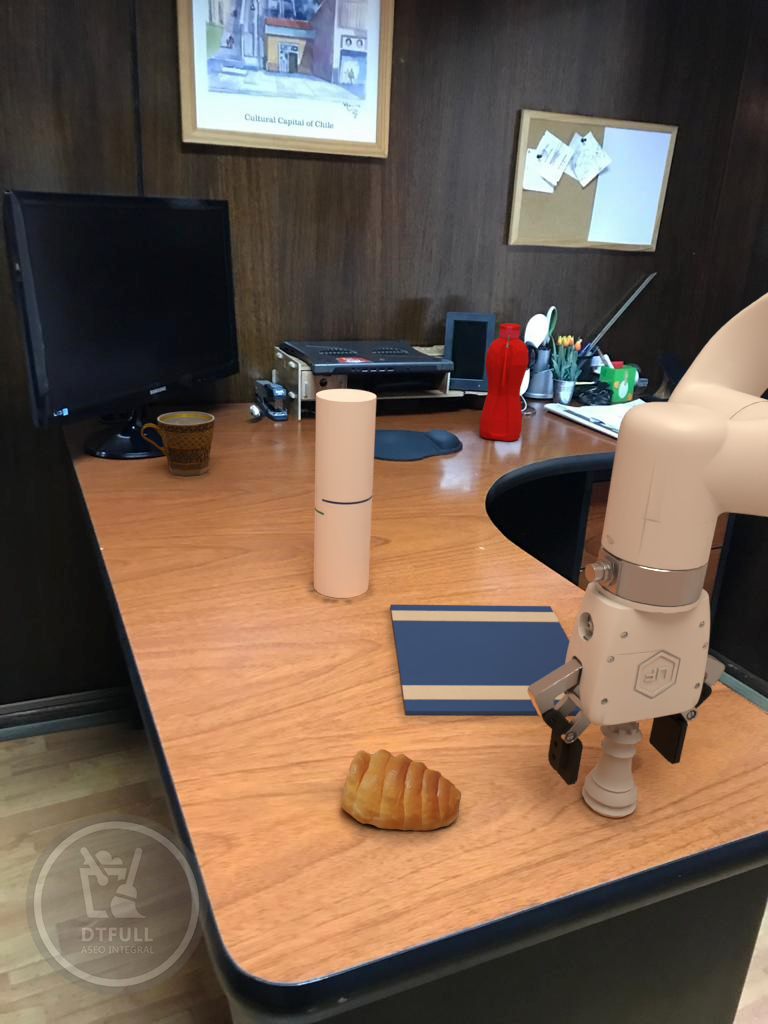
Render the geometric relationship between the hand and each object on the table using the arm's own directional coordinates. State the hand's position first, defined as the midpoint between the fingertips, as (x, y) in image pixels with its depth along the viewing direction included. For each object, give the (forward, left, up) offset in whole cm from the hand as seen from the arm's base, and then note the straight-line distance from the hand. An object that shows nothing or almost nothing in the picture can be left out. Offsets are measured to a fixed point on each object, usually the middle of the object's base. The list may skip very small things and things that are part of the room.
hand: (614, 763), depth 63 cm
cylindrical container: (+22, -40, -4) cm, 46 cm away
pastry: (+18, 0, -4) cm, 18 cm away
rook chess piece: (0, 0, -4) cm, 4 cm away
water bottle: (-14, -116, -4) cm, 117 cm away
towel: (+6, -23, -4) cm, 24 cm away
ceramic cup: (+51, -86, -4) cm, 100 cm away
